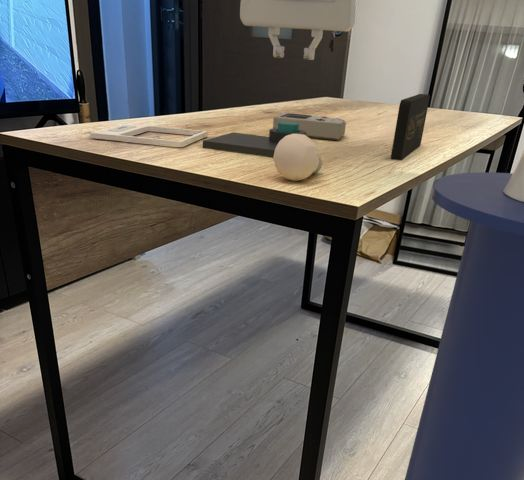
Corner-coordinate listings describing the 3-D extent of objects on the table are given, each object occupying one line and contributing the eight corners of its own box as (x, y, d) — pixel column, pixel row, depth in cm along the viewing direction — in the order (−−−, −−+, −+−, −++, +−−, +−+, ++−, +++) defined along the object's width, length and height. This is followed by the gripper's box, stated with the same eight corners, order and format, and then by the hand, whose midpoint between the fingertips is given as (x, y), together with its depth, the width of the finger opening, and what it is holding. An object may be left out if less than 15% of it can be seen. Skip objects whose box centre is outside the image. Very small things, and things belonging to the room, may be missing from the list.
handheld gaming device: (338, 141, 113) (340, 122, 111) (271, 134, 116) (273, 115, 114) (345, 136, 120) (347, 118, 119) (282, 129, 124) (284, 112, 122)
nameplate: (411, 144, 115) (421, 93, 110) (420, 145, 114) (430, 94, 109) (390, 159, 98) (400, 100, 93) (400, 161, 98) (411, 101, 92)
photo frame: (125, 122, 111) (207, 130, 108) (125, 128, 112) (207, 136, 109) (89, 131, 99) (181, 140, 96) (90, 137, 100) (181, 147, 96)
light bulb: (306, 137, 85) (275, 122, 75) (342, 151, 82) (315, 138, 73) (290, 177, 87) (258, 168, 77) (325, 193, 85) (296, 185, 75)
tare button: (301, 132, 103) (301, 123, 102) (294, 135, 100) (294, 125, 99) (281, 130, 104) (282, 120, 103) (274, 132, 101) (274, 122, 100)
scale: (309, 147, 105) (310, 130, 104) (283, 158, 93) (284, 140, 92) (235, 137, 110) (236, 121, 109) (202, 147, 98) (202, 130, 97)
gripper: (365, -33, 88) (354, 62, 95) (252, -35, 94) (249, 54, 101) (356, -38, 83) (345, 63, 90) (237, -40, 89) (235, 54, 96)
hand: (293, 58), depth 96 cm, fingers open, 4 cm apart
